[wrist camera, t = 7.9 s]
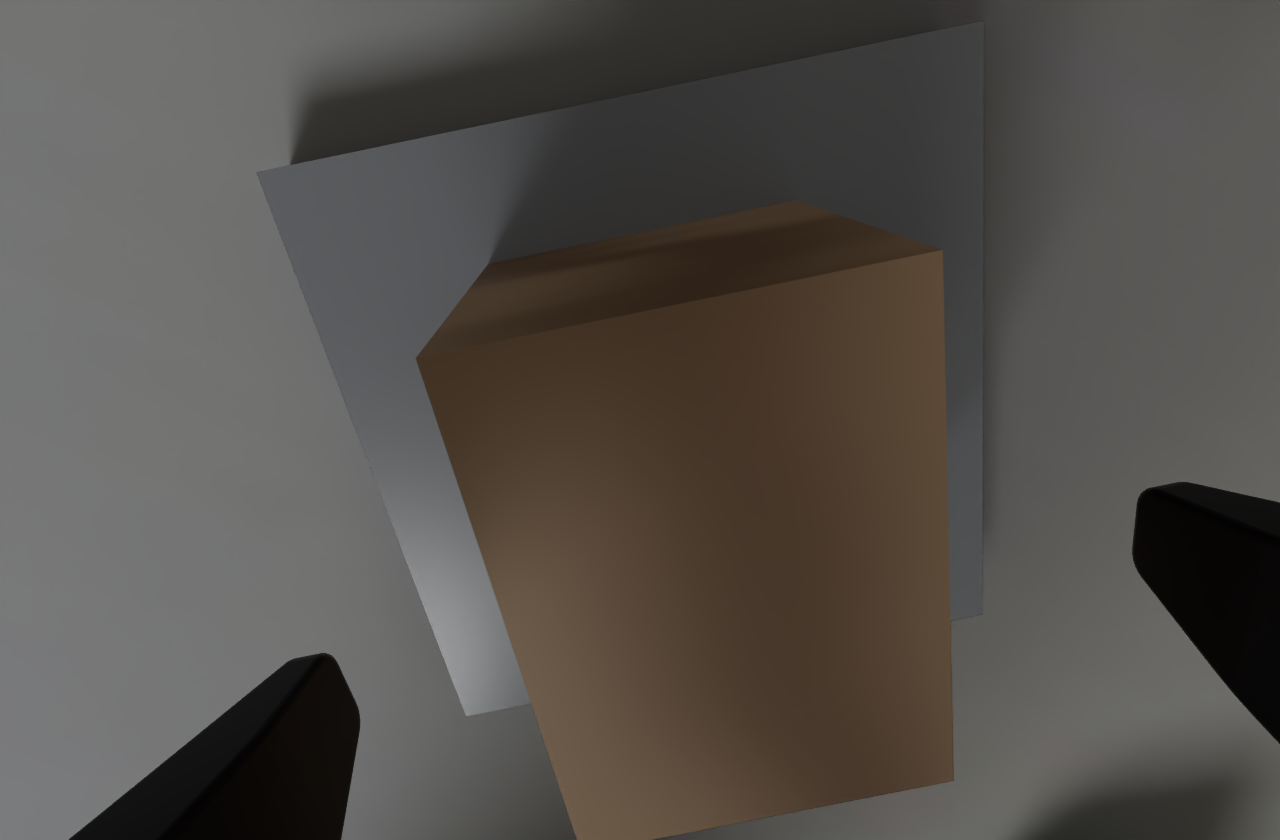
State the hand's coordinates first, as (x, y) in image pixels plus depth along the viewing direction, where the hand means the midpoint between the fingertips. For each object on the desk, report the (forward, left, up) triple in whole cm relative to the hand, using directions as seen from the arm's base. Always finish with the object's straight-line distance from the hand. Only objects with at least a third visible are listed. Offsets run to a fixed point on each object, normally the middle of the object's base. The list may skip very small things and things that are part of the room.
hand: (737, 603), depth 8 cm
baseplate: (0, 0, -6) cm, 6 cm away
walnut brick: (0, 0, -5) cm, 5 cm away
